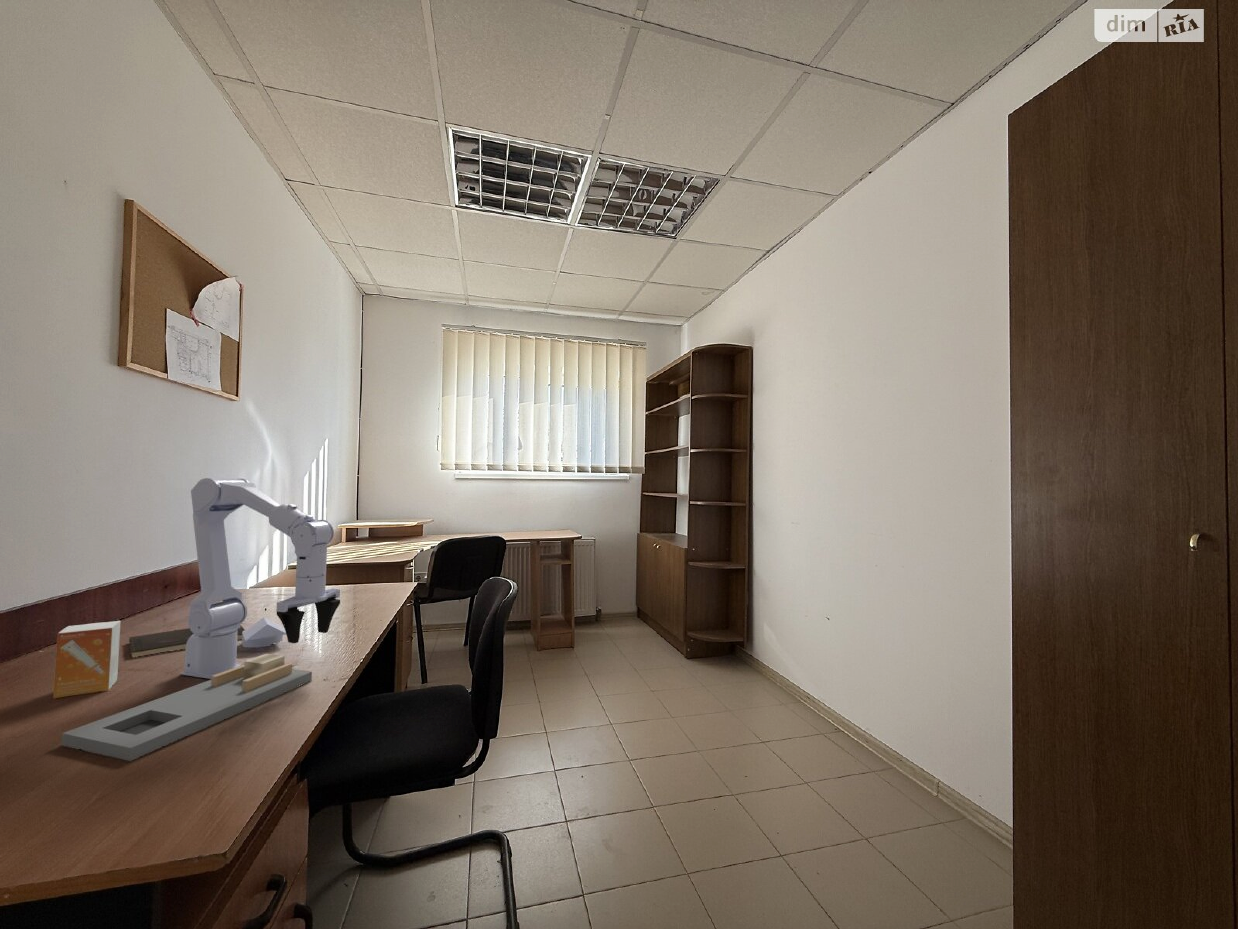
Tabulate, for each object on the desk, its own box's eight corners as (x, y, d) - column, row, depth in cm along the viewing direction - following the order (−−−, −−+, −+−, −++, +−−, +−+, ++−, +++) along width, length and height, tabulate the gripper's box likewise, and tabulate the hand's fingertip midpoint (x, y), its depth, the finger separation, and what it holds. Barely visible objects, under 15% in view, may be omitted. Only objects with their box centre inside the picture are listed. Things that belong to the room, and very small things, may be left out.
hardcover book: (246, 641, 138) (247, 632, 138) (130, 661, 122) (130, 651, 122) (236, 628, 149) (237, 620, 149) (128, 645, 133) (129, 636, 133)
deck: (61, 745, 82) (62, 720, 82) (255, 672, 114) (255, 655, 114) (130, 761, 78) (131, 735, 78) (311, 681, 110) (312, 662, 110)
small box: (52, 699, 99) (55, 633, 99) (64, 688, 104) (67, 625, 105) (109, 690, 103) (112, 627, 104) (118, 680, 109) (121, 619, 109)
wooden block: (243, 678, 106) (244, 661, 106) (265, 669, 111) (266, 653, 111) (262, 680, 104) (262, 663, 105) (283, 672, 109) (284, 656, 109)
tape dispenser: (287, 647, 132) (280, 635, 142) (288, 621, 132) (281, 611, 142) (244, 654, 126) (240, 641, 136) (245, 627, 126) (241, 616, 136)
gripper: (296, 582, 103) (293, 649, 103) (351, 571, 117) (349, 629, 117) (269, 580, 105) (266, 645, 105) (327, 569, 119) (324, 626, 119)
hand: (308, 637), depth 111 cm, fingers open, 7 cm apart
